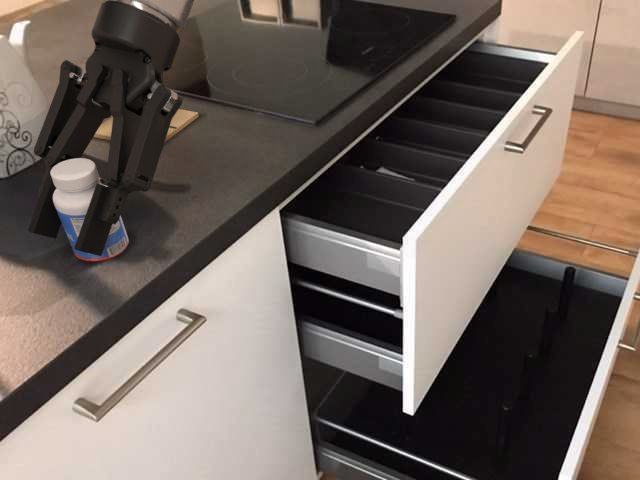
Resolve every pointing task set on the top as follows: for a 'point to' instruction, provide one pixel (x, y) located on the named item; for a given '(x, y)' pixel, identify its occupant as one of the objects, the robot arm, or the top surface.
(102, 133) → the grid board
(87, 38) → the top surface
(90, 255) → the pill bottle
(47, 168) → the robot arm
